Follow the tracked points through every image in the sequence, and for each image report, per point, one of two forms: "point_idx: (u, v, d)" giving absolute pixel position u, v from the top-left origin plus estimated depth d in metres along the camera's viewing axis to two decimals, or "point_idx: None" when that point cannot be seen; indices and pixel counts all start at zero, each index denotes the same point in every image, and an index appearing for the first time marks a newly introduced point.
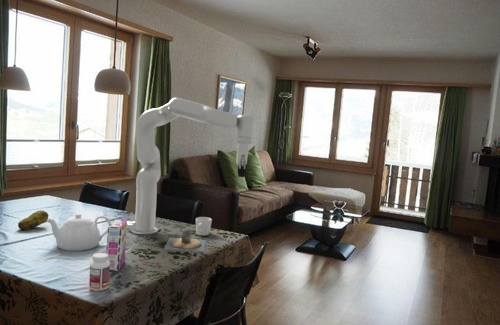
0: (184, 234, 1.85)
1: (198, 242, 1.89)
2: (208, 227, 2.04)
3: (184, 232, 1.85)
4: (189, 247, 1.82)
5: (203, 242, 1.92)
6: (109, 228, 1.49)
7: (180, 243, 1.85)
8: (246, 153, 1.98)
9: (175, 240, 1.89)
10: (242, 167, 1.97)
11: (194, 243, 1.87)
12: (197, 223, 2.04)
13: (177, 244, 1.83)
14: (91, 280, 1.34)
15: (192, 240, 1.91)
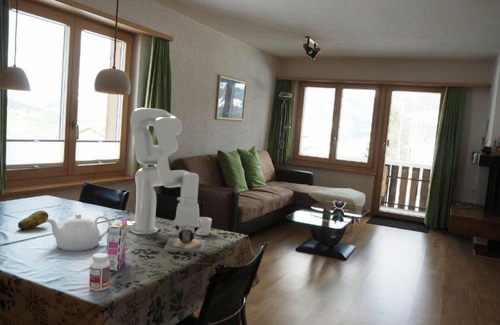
0: (184, 234, 1.85)
1: (198, 242, 1.89)
2: (208, 227, 2.04)
3: (184, 232, 1.85)
4: (189, 247, 1.82)
5: (203, 242, 1.92)
6: (109, 228, 1.49)
7: (180, 243, 1.85)
8: None
9: (175, 240, 1.89)
10: (195, 230, 1.87)
11: (194, 243, 1.87)
12: None
13: (177, 244, 1.83)
14: (91, 280, 1.34)
15: (192, 240, 1.91)
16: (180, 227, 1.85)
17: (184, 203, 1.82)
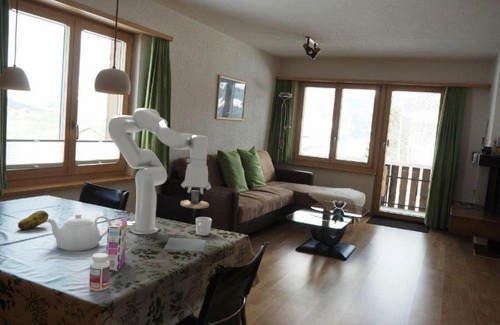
0: (193, 195, 1.91)
1: (206, 203, 1.94)
2: (208, 227, 2.04)
3: (193, 193, 1.91)
4: (197, 207, 1.87)
5: (203, 242, 1.92)
6: (109, 228, 1.49)
7: (189, 203, 1.90)
8: None
9: (184, 201, 1.94)
10: None
11: (202, 204, 1.92)
12: (197, 223, 2.04)
13: (186, 204, 1.89)
14: (91, 280, 1.34)
15: (201, 202, 1.96)
16: (189, 188, 1.91)
17: (193, 164, 1.88)
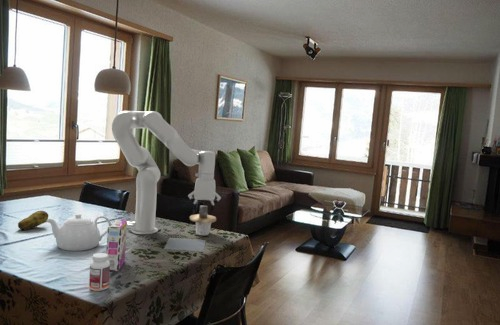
0: (202, 210, 2.03)
1: (214, 217, 2.06)
2: (208, 227, 2.04)
3: (202, 208, 2.02)
4: (207, 221, 1.99)
5: (203, 242, 1.92)
6: (109, 228, 1.49)
7: (198, 218, 2.02)
8: None
9: (193, 216, 2.06)
10: (215, 203, 2.05)
11: (211, 218, 2.04)
12: (197, 223, 2.04)
13: (195, 219, 2.01)
14: (91, 280, 1.34)
15: (208, 216, 2.08)
16: (195, 199, 2.02)
17: (202, 178, 1.99)
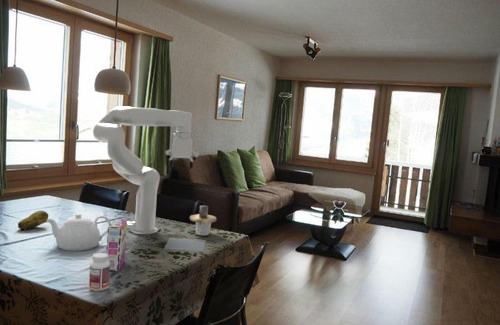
0: (202, 210, 2.03)
1: (214, 217, 2.06)
2: (208, 227, 2.04)
3: (202, 208, 2.03)
4: (207, 221, 1.99)
5: (203, 242, 1.92)
6: (109, 228, 1.49)
7: (198, 218, 2.03)
8: None
9: (193, 216, 2.06)
10: None
11: (211, 218, 2.04)
12: (197, 223, 2.04)
13: (196, 219, 2.01)
14: (91, 280, 1.34)
15: (208, 216, 2.08)
16: None
17: (179, 137, 2.13)
